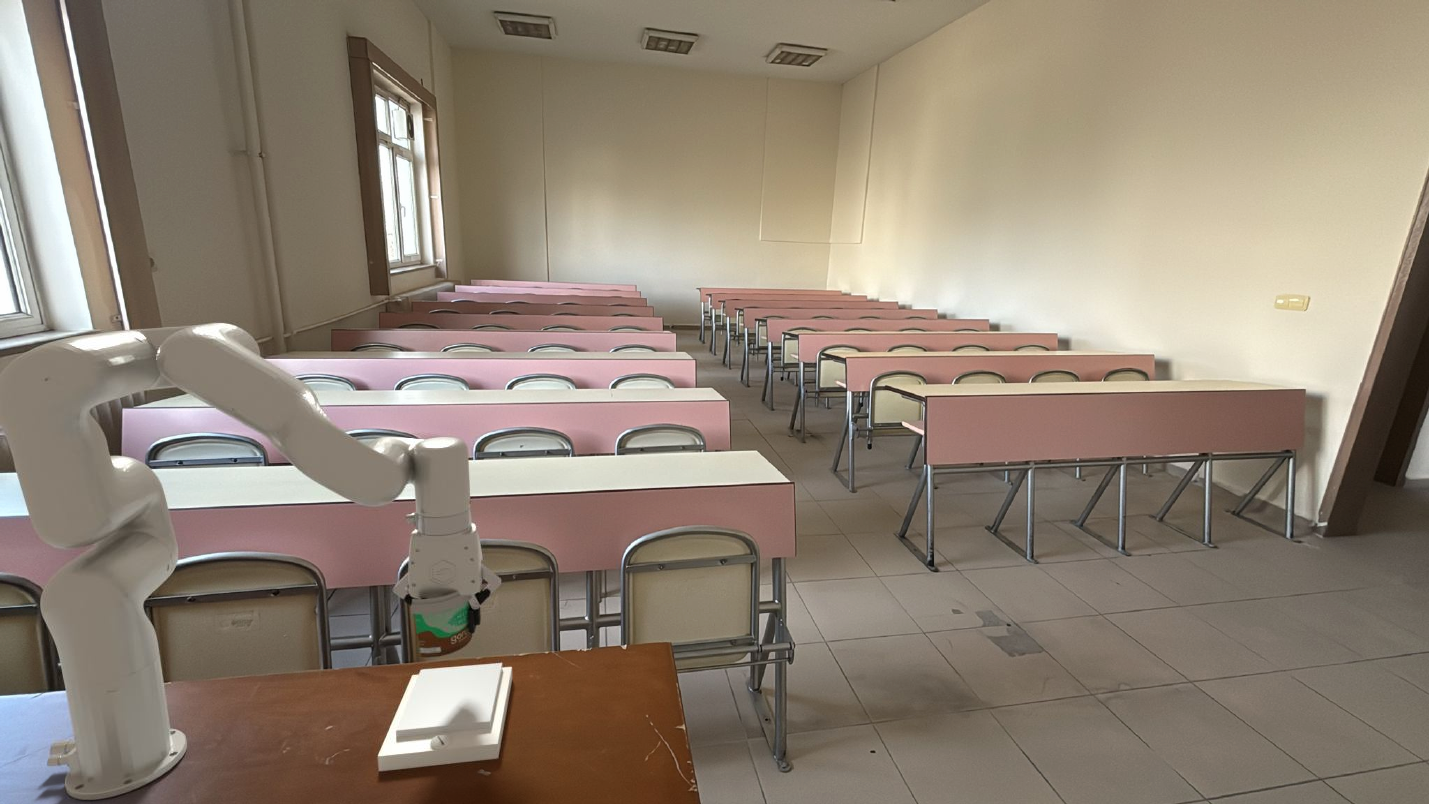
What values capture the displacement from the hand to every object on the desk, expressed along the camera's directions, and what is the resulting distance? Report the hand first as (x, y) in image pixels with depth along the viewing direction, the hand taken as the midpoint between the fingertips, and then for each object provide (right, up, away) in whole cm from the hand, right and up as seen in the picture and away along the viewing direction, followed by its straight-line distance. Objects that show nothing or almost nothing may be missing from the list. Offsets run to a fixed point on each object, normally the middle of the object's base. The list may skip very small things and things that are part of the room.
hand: (450, 629), depth 100 cm
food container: (+1, -2, +1) cm, 3 cm away
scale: (0, -15, +1) cm, 15 cm away
